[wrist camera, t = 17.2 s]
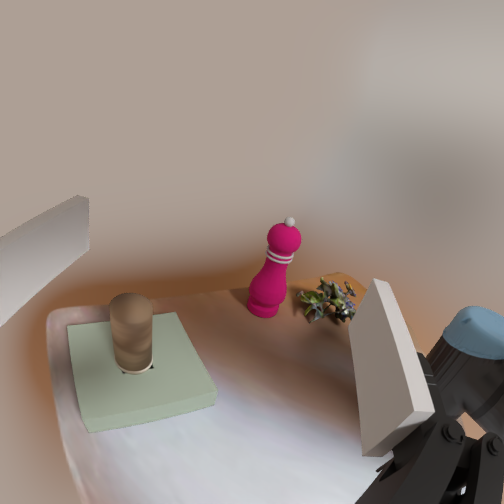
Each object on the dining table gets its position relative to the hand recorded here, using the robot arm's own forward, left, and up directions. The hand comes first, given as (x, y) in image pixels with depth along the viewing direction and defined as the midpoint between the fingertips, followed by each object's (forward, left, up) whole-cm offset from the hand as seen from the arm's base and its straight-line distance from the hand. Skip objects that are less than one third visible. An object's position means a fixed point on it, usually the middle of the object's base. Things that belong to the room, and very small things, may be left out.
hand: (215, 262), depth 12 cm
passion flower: (-39, -18, -30) cm, 53 cm away
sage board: (0, -16, -30) cm, 34 cm away
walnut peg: (0, -16, -29) cm, 34 cm away
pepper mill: (-28, -25, -30) cm, 48 cm away
